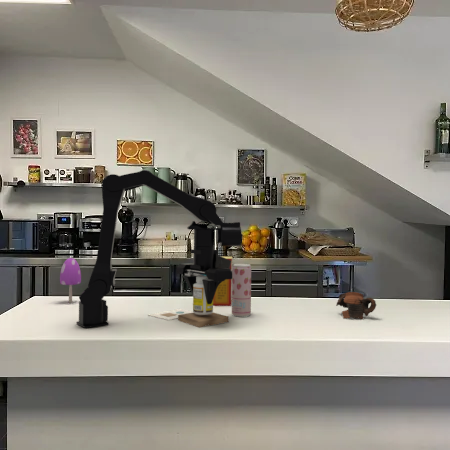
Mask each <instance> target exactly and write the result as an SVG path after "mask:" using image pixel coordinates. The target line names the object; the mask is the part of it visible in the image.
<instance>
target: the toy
mask: <svg viewBox="0 0 450 450" xmlns="http://www.w3.org/2000/svg"><path fill="white" fill-rule="evenodd" d="M59 283H60V285H64V286H68V303H69V304H72V303H73V286H75V285H76V286H77V285H80V284H81V283H82V271H81V268H80V265H79V263H78V261H77V260H76V259H75V258H73V257H68V258H66V259H65V261H64V262H63V264H62V266H61V269H60V273H59Z"/></svg>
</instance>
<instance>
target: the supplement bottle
mask: <svg viewBox="0 0 450 450" xmlns="http://www.w3.org/2000/svg"><path fill="white" fill-rule="evenodd" d="M202 279H208V278H207V276H206V275H205V276H197V277H196V282H197V283H195V284H194V285H193V295H192V298H193V299H192V312H194V313H195V314H198V315H209V314H212V313H213V312H214V306H213V301H212V303H211V304H207V300H206V296H205V291H204V286H203V281H202Z"/></svg>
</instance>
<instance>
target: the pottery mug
mask: <svg viewBox="0 0 450 450" xmlns="http://www.w3.org/2000/svg"><path fill="white" fill-rule="evenodd" d="M369 305H370V306H369ZM338 306H340V307H343V308H346V310H343V311H341V313H342V318H343V319H357V320H358V319H359V320H363V319H364V316H365V317H368V316H369V314H370V313H373V312H374V311H375V310H376V307H377V302H376V300H375V299H374V298H372V297H367V298H365V297H364V294H362V293H360V292H358V291H356V292H355V291H349V292H343V293H341V294H339V295H338V300H337V302H336V307H338Z"/></svg>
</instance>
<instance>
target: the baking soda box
mask: <svg viewBox="0 0 450 450" xmlns="http://www.w3.org/2000/svg"><path fill="white" fill-rule="evenodd" d="M220 256H221V255H220ZM221 257H223V258H226V259H228V260H230V261H231V265H230V269H231V270H232V268H233V256H227V255H226V256H224V255H223V256H221ZM213 307H232V279H226V280H225V281H222V282H221V283H220V284H219V285H218V287H217V290H216V292H215V295H214V298H213Z"/></svg>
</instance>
